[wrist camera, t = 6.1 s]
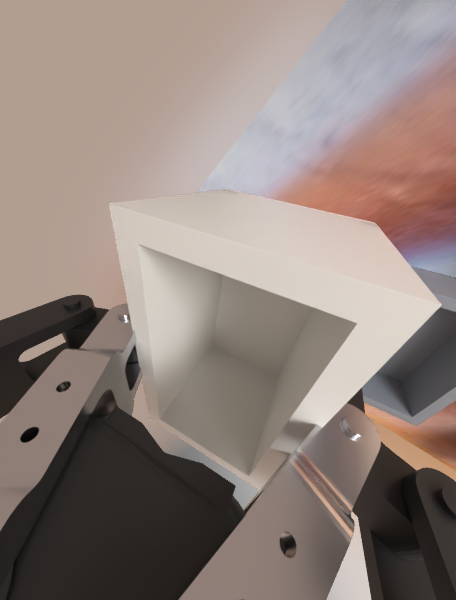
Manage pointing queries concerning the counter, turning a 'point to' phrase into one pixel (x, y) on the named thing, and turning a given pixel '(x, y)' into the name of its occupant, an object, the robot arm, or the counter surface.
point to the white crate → (258, 318)
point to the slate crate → (421, 362)
